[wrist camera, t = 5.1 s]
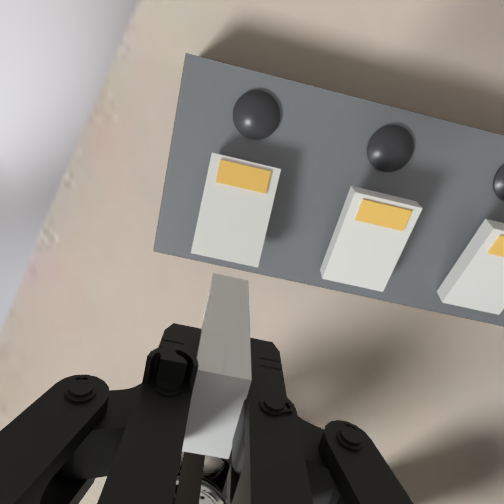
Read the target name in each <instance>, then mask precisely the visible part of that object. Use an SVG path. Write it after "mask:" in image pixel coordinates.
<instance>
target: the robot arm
mask: <svg viewBox="0 0 504 504" xmlns="http://www.w3.org/2000/svg"><path fill="white" fill-rule="evenodd" d="M231 449H232V462H231V465H230V468H229V472H228V475H227V478H226V482H225V485H224V489H223V492H222V497H226V493H227V497H226V504H413V503H412V501H411V499H410V498H409V496H408V495H407V493H406V492H405V490H404V489H403V487H402V486H401V484H400V483H399V481H398V480H397V478H396V477H395V475H394V474H393V472H392V471H391V469H390V467H389V466H388V464H387V463H386V461H385V460H384V458H383V457H382V455H381V454H380V452H379V451H378V449H377V448H376V446H375V445H374V443H373V442H372V440H371V439H370V438H369V436H368V435H367V434H366V433H365V432H364V431H363V430H361V429H360V428H359V427H357V426H356V425H353V424H351V423H349V422H346V421H340V420H336V421H331V422H329V423H328V424H327V425H326V426H325V429H321V428H319V427H317V426H314V425H312V424H310V423H308V422H306V421H304V420H302V419H301V418H300V417H298V416H297V411H296V409H295V407H294V404H293V403H292V402H291V401H290V400H289V399H288V398H287V397H286V390H285V384H284V378H283V371H282V365H281V359H280V352H279V350H278V349H277V348H276V346H275V345H274V344H273V342H268V341H263V340H259V339H254V338H250V318H249V289H248V281H247V280H242V279H238V278H233V277H229V276H224V275H219V274H215V273H213V276H212V281H211V285H210V289H209V294H208V298H207V302H206V307H205V311H204V315H203V320H202V324H201V328H200V329H199V328H194V327H189V326H184V325H179V324H174V323H173V324H172V325H171V326H169V327H168V328H167V329H165V331H164V334H163V336H162V339H161V342H160V345H159V348H157V349H155V350H153V351H151V352H150V354H149V355H148V356H147V361H146V366H145V371H144V377H143V382H142V383H141V384H139V385H138V386H136V387H133V388H130V389H124V390H111V391H109V387H108V386H107V384H106V383H105V382H104V381H103V380H101V379H99V378H98V377H95V376H90V375H74V376H70V377H67V378H64V379H62V380H61V381H59V382H57V383H56V384H55V385H54V386H52V387H51V388H50V389H49V390H48V391H47V392H45V393H44V394H43V395H42V396H41V397H40V398H38V399H37V400H36V401H35V402H34V403H33V404H31V405H30V406H29V407H28V408H27V409H26V410H24V411H23V412H22V413H21V414H20V415H19V416H17V417H16V418H15V419H14V420H13V421H12V422H10V423H9V424H8V425H7V426H6V427H5V428H3V429H2V430H1V431H0V504H79V502H80V501H81V499H82V498H83V497H84V495H85V494H86V492H87V491H88V490H89V488H90V487H91V485H92V484H93V482H94V480H95V478H97V477H104V476H107V479H106V482H105V484H104V487H103V490H102V493H101V495H100V498H99V501H98V503H97V504H173V498H174V492H175V487H176V481H177V476H178V470H179V464H180V459H181V453H182V451H184V452H190V453H195V454H201V455H207V456H213V457H219V458H225V459H229V456H230V453H231Z"/></svg>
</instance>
